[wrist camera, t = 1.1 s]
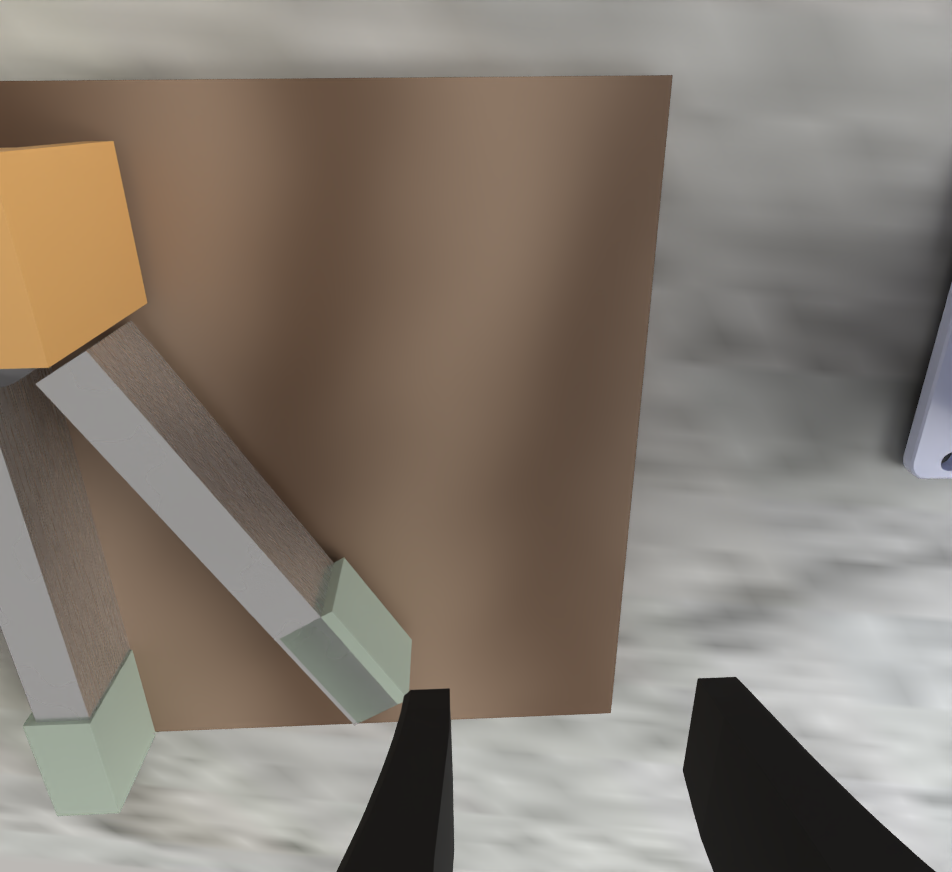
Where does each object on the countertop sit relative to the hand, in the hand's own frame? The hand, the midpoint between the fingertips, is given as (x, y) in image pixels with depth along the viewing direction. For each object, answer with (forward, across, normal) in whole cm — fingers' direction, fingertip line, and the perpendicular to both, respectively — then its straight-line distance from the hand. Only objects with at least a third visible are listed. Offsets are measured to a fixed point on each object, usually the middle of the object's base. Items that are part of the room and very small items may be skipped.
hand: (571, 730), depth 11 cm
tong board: (+7, +5, -2) cm, 9 cm away
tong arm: (+6, +6, -1) cm, 9 cm away
